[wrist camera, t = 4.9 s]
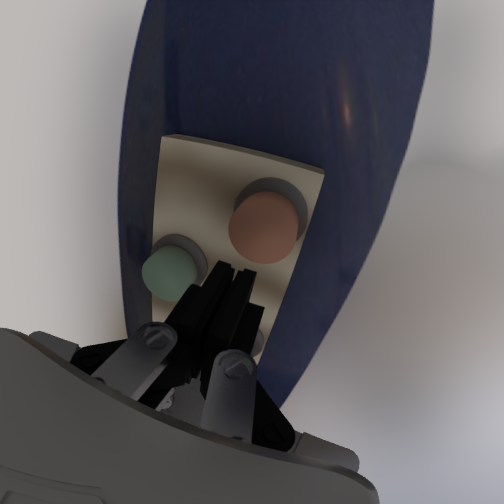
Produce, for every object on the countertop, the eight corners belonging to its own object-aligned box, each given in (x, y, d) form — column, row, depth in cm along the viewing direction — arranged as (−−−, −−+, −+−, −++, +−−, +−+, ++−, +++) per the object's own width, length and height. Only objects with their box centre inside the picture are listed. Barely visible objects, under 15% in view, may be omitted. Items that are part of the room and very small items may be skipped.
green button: (194, 293, 25) (185, 308, 23) (153, 278, 25) (142, 291, 24) (199, 253, 23) (189, 266, 21) (154, 239, 23) (141, 250, 21)
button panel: (260, 351, 32) (255, 371, 29) (161, 316, 33) (150, 333, 30) (323, 169, 21) (324, 177, 18) (176, 133, 22) (157, 137, 19)
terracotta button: (288, 256, 20) (285, 271, 18) (232, 239, 21) (223, 252, 19) (306, 201, 18) (305, 212, 16) (244, 183, 19) (235, 192, 17)
